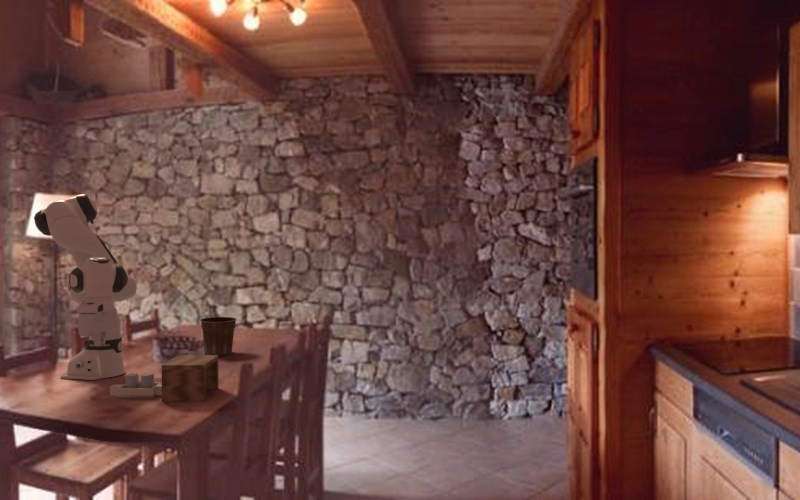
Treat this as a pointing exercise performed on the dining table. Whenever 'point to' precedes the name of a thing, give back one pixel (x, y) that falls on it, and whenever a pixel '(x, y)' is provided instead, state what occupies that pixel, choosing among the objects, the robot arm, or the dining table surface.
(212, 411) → the dining table surface
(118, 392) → the tray
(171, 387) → the wooden crate box
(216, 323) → the plant pot
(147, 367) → the dining table surface
